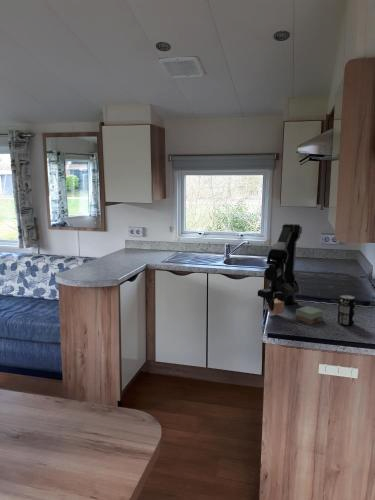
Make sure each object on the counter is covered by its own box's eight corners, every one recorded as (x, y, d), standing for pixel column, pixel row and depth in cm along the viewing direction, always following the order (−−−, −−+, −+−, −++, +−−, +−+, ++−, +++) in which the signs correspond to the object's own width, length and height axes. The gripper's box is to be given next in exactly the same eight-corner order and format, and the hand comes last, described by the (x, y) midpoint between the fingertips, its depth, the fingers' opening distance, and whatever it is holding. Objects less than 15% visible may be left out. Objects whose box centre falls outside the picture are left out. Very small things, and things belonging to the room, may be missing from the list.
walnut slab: (307, 316, 177) (307, 311, 176) (322, 321, 170) (322, 316, 170) (295, 320, 172) (296, 314, 172) (310, 325, 166) (311, 319, 165)
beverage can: (349, 321, 170) (351, 294, 168) (356, 326, 163) (358, 298, 161) (334, 321, 170) (336, 294, 168) (341, 326, 163) (343, 299, 161)
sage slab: (307, 311, 177) (307, 305, 176) (322, 316, 170) (322, 310, 170) (295, 314, 172) (296, 309, 171) (311, 319, 166) (311, 314, 165)
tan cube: (275, 309, 180) (275, 298, 179) (283, 312, 176) (284, 301, 175) (267, 311, 177) (268, 300, 176) (276, 314, 173) (276, 303, 172)
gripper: (276, 282, 162) (274, 318, 164) (305, 276, 172) (303, 310, 175) (257, 277, 171) (256, 311, 173) (286, 272, 181) (284, 304, 184)
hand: (275, 309), depth 176 cm, fingers closed on tan cube, 5 cm apart
